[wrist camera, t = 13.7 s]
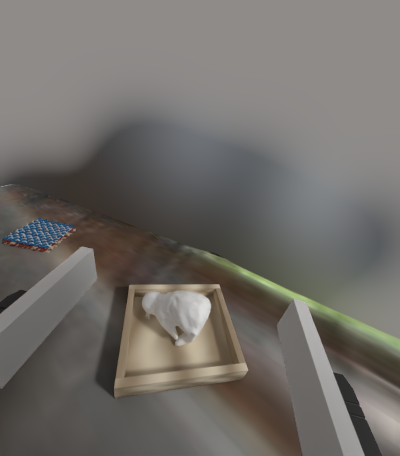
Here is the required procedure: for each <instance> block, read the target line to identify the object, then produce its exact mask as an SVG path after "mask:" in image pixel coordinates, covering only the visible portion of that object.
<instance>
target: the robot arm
mask: <svg viewBox="0 0 400 456" xmlns="http://www.w3.org/2000/svg"><path fill="white" fill-rule="evenodd" d="M96 280H97V274H96V267H95V260H94V253H93V249H90V248H86V247H81V248H80V249H78V250H77V251H76V252H75V253H74V254H72V255H71V256H70V257H69V258H67V259H66V260H65V261H64V262H63V263H61V264H60V265H59V266H58V267H57V268H55V269H54V270H53V271H52V272H50V273H49V274H48V275H47V276H46V277H44V278H43V279H42V280H41V281H39V282H38V283H37V284H36V285H35V286H33V287H32V288H31V289H30V290H29V291H23V290H20V291H18V292H16V293H14V294H12V295H10V296H8V297H6V298H5V299H4V300H2V301H1V302H0V389H2V388H3V387H4V386H5V385H6V383H7V382H8V381H9V380H10V379H11V378H12V377H13V375H14V374H15V373H16V372H17V371H18V370H19V368H20V367H21V366H22V365H23V364H24V363H25V362H26V360H27V359H28V358H29V357H30V356H31V355H32V354H33V352H34V351H35V350H36V349H37V348H38V347H39V346H40V344H41V343H42V342H43V341H44V340H45V339H46V337H47V336H48V335H49V334H50V333H51V332H52V331H53V329H54V328H55V327H56V326H57V325H58V324H59V323H60V321H61V320H62V319H63V318H64V317H65V316H66V315H67V313H68V312H69V311H70V310H71V309H72V308H73V306H74V305H75V304H76V303H77V302H78V301H79V300H80V298H81V297H82V296H83V295H84V294H85V293H86V292H87V290H88V289H89V288H90V287H91V286H92V285H93V283H94V282H95V281H96ZM277 329H278V334H279V339H280V344H281V349H282V354H283V359H284V364H285V369H286V374H287V379H288V384H289V389H290V394H291V399H292V404H293V409H294V414H295V419H296V424H297V430H298V435H299V440H300V445H301V450H302V455H303V456H382V455H381V453H380V450H379V448H378V446H377V443H376V441H375V439H374V436H373V434H372V432H371V430H370V427H369V425H368V423H367V421H366V420H365V416H364V413H363V411H362V409H361V407H360V406H359V402H358V400H357V397H356V395H355V393H354V390H353V388H352V387H351V386H350V384H349V383H348V381H347V380H346V379H345V377H344V376H343V375H341V374H337V373H334V372H332V369H331V366H330V364H329V361H328V359H327V356H326V353H325V351H324V348H323V345H322V343H321V340H320V338H319V335H318V332H317V330H316V327H315V325H314V322H313V319H312V317H311V314H310V312H309V309H308V306H307V304H306V302H303V301H299V300H295V299H293V301H292V302H291V304H290V305H289V307H288V309H287V310H286V312H285V313H284V315H283V316H282V318H281V320H280V321H279V323H278V324H277Z"/></svg>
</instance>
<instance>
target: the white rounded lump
mask: <svg viewBox="0 0 400 456" xmlns="http://www.w3.org/2000/svg"><path fill="white" fill-rule="evenodd" d="M142 307H143V309H144V310H145V311H146V312H147V313H146V314H145V315H146V316H145V317H146V318H147V316H148V319H149V316H150V314H153V315H155V316H156V318H157V320H158V321H159V323H160V324H161V326H162V327H163V328H164V329H165V330H166V331H167V332H168V333H169V334H170V335H171V336H172V337H173V338H174V339H175V340H176V342H175V345H176V346H182V345H184V344H189V343H191V342H193V341H194V339H195V338H196V337H197V336H198V335H199V333H200V331H201V329H202V328H203V326H204V324H205V322H206V321H207V319H208V316H209V314H210V309H211V303H210V301H209V299H208V298H207V297H205V296H203V295H201V294H198V293H196V292H191V291H174V292H173V293H171V292H168V293H167V294H161V293H159V292H155V291H151V292H148V293H146V294H145V296H144V297H143V300H142ZM150 317H151V316H150ZM176 326H179V327H180V329H182V330H183V331H184V332H185V333H182V334H180V335H179V337H178V334H177V331H176V328H175V327H176Z"/></svg>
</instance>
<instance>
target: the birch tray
mask: <svg viewBox="0 0 400 456" xmlns="http://www.w3.org/2000/svg"><path fill="white" fill-rule="evenodd" d="M151 291H155V292H159V293H161V294H167V293H168V292H171V293H173V292H174V291H191V292H196V293H198V294H201V295H203V296H205V297H207V298H208V299H209V301H210V303H211V309H210V314H209V316H208V319H207V321H206V322H205V324H204V326H203V328H202V329H201V331H200V333H199V335H198V336H197V337H196V338H195V339H194V341H193V342H191V343H189V344H184V345H182V346H176V345H175V342H176V340H175V339H174V338H173V337H172V336H171V335H170V334H169V333H168V332H167V331H166V330H165V329H164V328H163V327H162V326H161V324H160V323H159V321H158V320H157V318H156V316H155V315H153V314H150V316H151V317H150V316H149V319H148V316H147V318H146V317H145V316H146V315H145V314H146V313H147V312H146V311H145V310H144V309H143V307H142V300H143V297H144V296H145V294H146V293H148V292H151ZM175 328H176V331H177V334H178V337H179V335H180V334H182V333H185V332H184V331H183V330H182V329H180V327H179V326H176V327H175ZM247 371H248V368H247V365H246V363H245V360H244V357H243V354H242V351H241V348H240V345H239V342H238V339H237V336H236V333H235V330H234V327H233V324H232V321H231V318H230V315H229V312H228V310H227V307H226V304H225V301H224V298H223V295H222V292H221V289H220V286H219V284H217V285H130V286H129V292H128V299H127V306H126V312H125V319H124V326H123V332H122V339H121V345H120V352H119V359H118V365H117V372H116V379H115V385H114V396H115V398H120V397H127V396H134V395H141V394H148V393H155V392H161V391H168V390H175V389H182V388H189V387H195V386H202V385H209V384H216V383H223V382H229V381H236V380H242V379H243V377H244V376H245V374H246V373H247Z"/></svg>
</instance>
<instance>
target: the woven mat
mask: <svg viewBox="0 0 400 456" xmlns="http://www.w3.org/2000/svg"><path fill="white" fill-rule="evenodd" d="M40 219H41V218H38V220H35V221H33V222H32V224H27V225H26V226H25V227H23V228H21V229H19V230H18V229H17V231H15V232H16V233H10V234H11V235H8V236H6V237H5V238H4V240H5V241H4V242H3V243H4V244H8V245H10V246H18V247H23V248H27V249H32V250H37V251H41V252H46V253H49V252H50V251H47V250H49V249H53V248H54V247H57V245H54V244H60V242H61V241H63V240H62V239H65V238H66V236H69V235H70V234H71V235H72V233H70V232H75V229H74V228H75V227H74V226H72V227H70V226H71V224H70V225H69V226H68V225H65V223H63V224H58V223H59V222H57V223H56V222H54V223H52V222H53V221H48V222H47V219H45V220H40ZM8 241H9V242H8ZM19 243H21V244H19ZM23 244H24V245H23ZM30 245H31V246H30ZM29 246H30V247H29ZM40 248H41V249H40ZM43 249H44V250H43Z"/></svg>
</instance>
